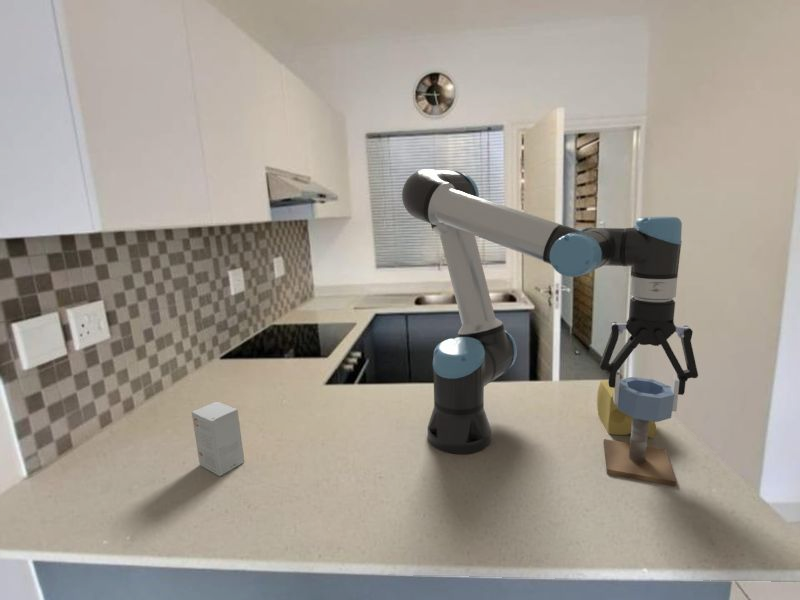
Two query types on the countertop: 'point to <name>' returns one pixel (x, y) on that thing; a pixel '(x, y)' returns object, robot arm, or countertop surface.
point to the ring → (645, 399)
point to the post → (638, 457)
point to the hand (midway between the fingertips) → (643, 404)
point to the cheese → (615, 413)
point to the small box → (218, 437)
